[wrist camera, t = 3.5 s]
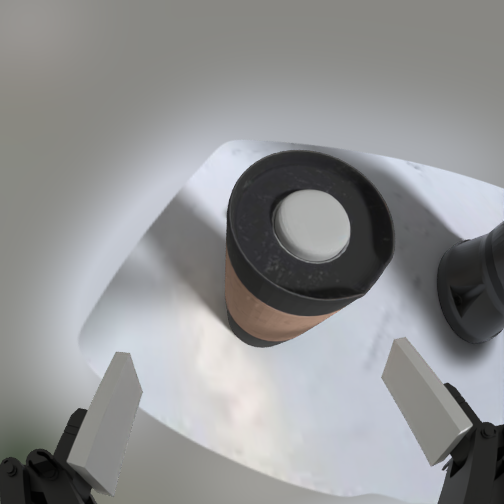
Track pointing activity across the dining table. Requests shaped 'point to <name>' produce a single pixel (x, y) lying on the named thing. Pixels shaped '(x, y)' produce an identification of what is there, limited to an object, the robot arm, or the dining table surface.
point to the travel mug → (301, 244)
